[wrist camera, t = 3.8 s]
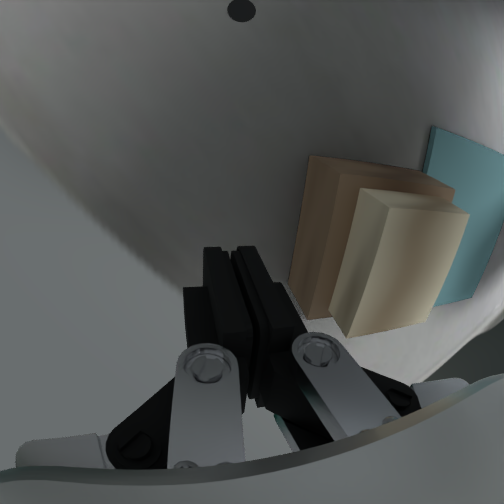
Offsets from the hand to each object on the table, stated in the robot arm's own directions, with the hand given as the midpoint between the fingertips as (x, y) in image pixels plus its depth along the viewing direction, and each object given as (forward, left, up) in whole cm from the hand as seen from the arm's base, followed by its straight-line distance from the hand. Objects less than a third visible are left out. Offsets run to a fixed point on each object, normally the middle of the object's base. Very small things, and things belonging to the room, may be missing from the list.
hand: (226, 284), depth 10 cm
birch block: (-8, 0, 0) cm, 8 cm away
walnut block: (-8, 0, -4) cm, 9 cm away
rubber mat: (-17, 0, -4) cm, 18 cm away
